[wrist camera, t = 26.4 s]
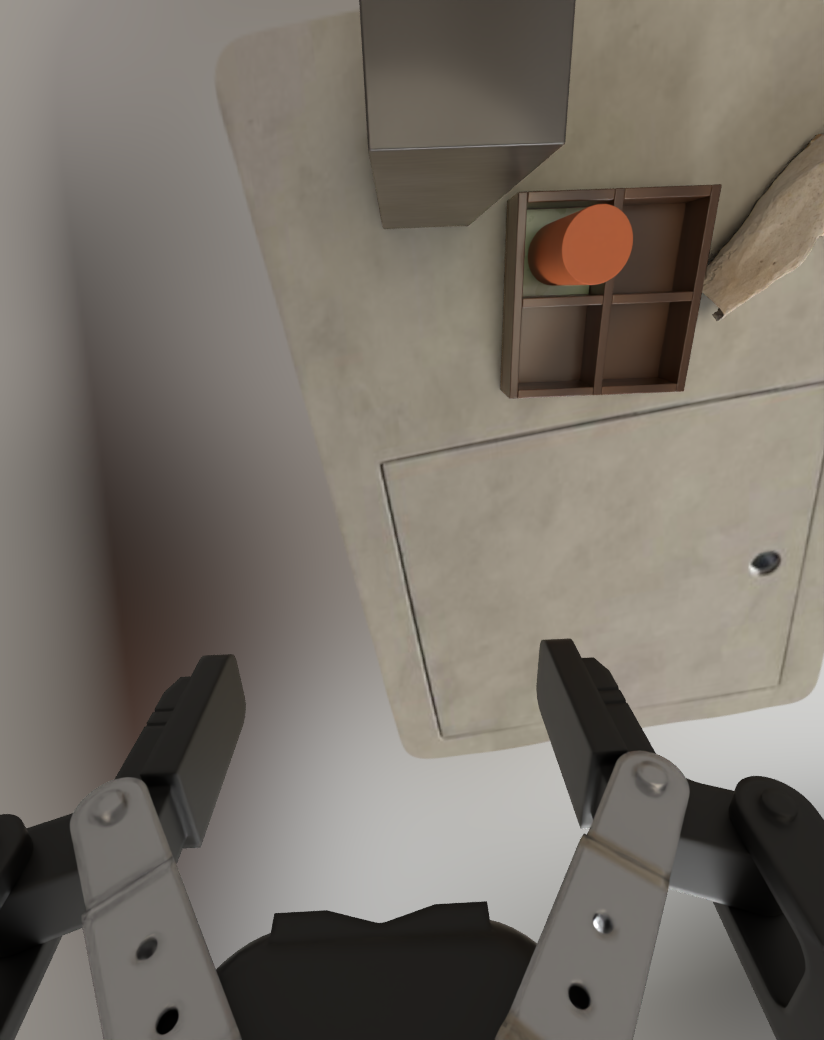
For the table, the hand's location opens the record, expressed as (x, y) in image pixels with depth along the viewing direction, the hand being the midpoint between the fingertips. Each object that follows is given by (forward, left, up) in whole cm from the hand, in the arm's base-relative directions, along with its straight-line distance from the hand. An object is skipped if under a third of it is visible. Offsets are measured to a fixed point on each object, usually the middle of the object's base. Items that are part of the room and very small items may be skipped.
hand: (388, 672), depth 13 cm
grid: (+15, +8, -30) cm, 35 cm away
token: (+12, +11, -29) cm, 34 cm away
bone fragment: (+28, +12, -30) cm, 43 cm away
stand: (+3, +16, -30) cm, 34 cm away
